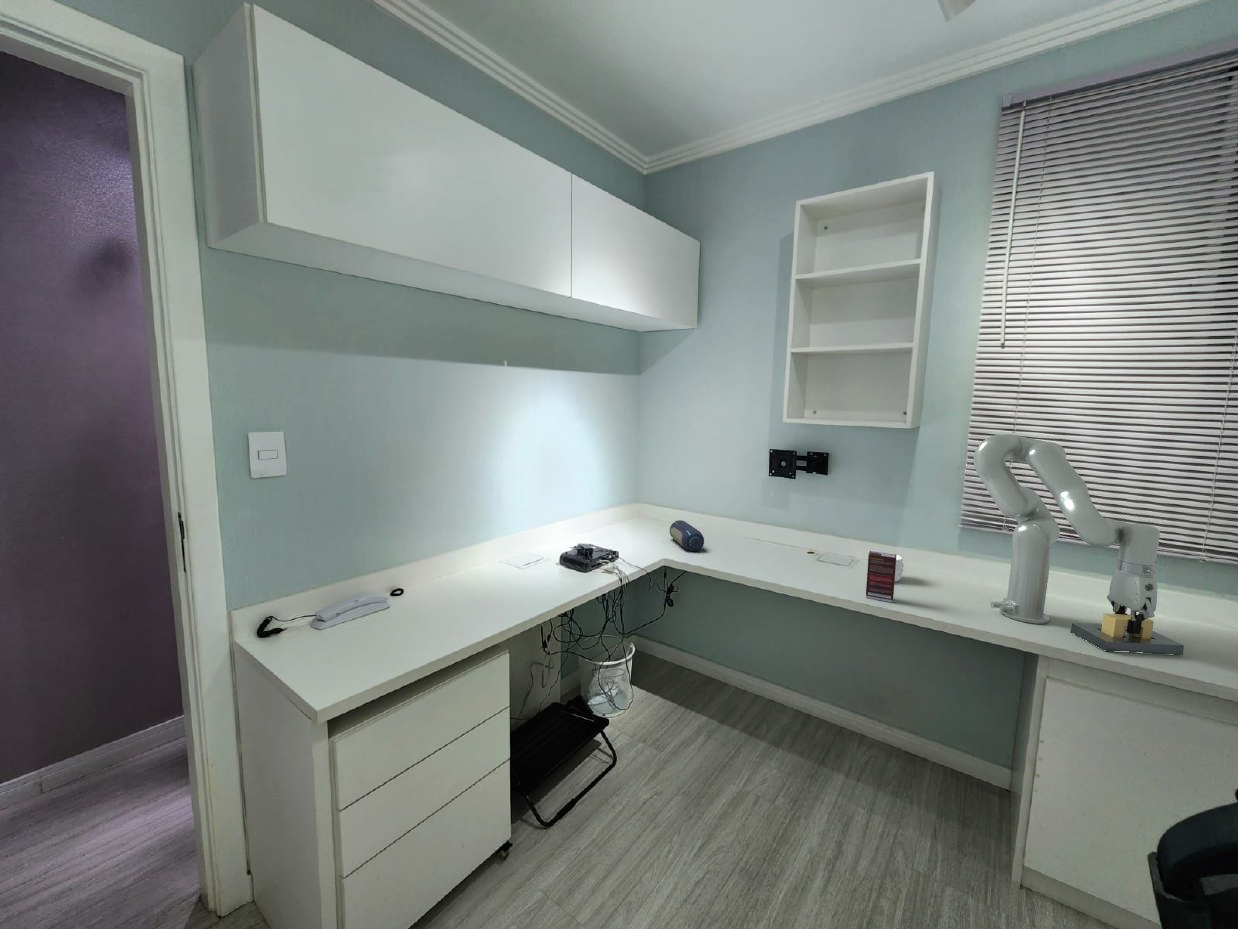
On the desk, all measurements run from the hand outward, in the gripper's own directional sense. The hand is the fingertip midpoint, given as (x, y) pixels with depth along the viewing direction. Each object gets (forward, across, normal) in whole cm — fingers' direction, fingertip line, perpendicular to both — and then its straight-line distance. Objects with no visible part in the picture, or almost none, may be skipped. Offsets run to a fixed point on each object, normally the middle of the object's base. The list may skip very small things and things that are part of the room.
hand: (1126, 629), depth 147 cm
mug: (+4, +47, +46) cm, 66 cm away
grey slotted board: (+4, 0, 0) cm, 4 cm away
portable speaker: (+4, +83, +121) cm, 147 cm away
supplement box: (+4, +27, +57) cm, 63 cm away
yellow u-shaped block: (+2, 0, 0) cm, 2 cm away
